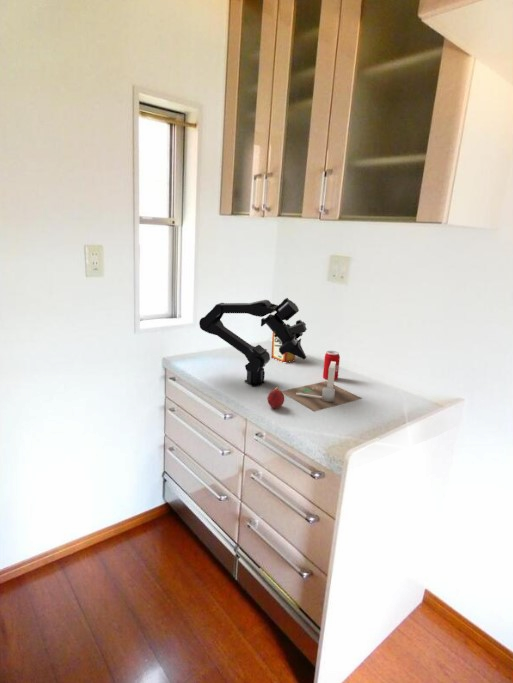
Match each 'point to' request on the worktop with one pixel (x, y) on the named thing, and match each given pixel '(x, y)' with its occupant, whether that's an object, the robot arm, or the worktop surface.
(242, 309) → the robot arm
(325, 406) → the dial board
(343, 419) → the worktop surface
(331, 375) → the white panel with rod
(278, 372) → the worktop surface
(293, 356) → the baking soda box
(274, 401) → the red oval piece
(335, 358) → the beverage can
